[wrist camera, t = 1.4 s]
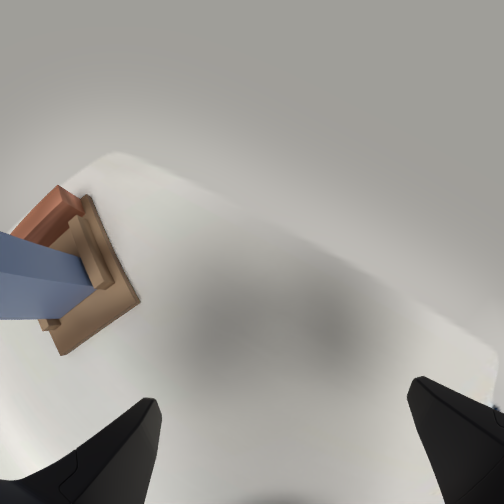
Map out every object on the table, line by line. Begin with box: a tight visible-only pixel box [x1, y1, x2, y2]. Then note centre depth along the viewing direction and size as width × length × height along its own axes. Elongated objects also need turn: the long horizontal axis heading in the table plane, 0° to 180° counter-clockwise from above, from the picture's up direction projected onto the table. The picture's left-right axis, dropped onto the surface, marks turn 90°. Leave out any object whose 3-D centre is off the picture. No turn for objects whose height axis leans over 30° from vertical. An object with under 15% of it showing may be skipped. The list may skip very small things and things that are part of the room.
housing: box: [10, 185, 140, 356], centre depth 20 cm, size 12×11×5 cm
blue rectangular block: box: [0, 232, 97, 320], centre depth 15 cm, size 3×6×12 cm, turn 124°
